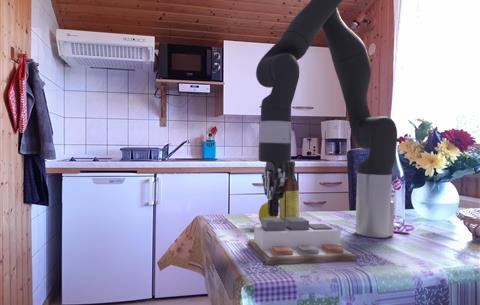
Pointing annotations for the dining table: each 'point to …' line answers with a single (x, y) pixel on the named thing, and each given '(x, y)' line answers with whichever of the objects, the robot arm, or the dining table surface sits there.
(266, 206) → the lemon
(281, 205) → the sauce bottle
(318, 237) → the switch housing
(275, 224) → the button
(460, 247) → the dining table surface
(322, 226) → the button
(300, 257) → the switch base
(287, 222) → the button
